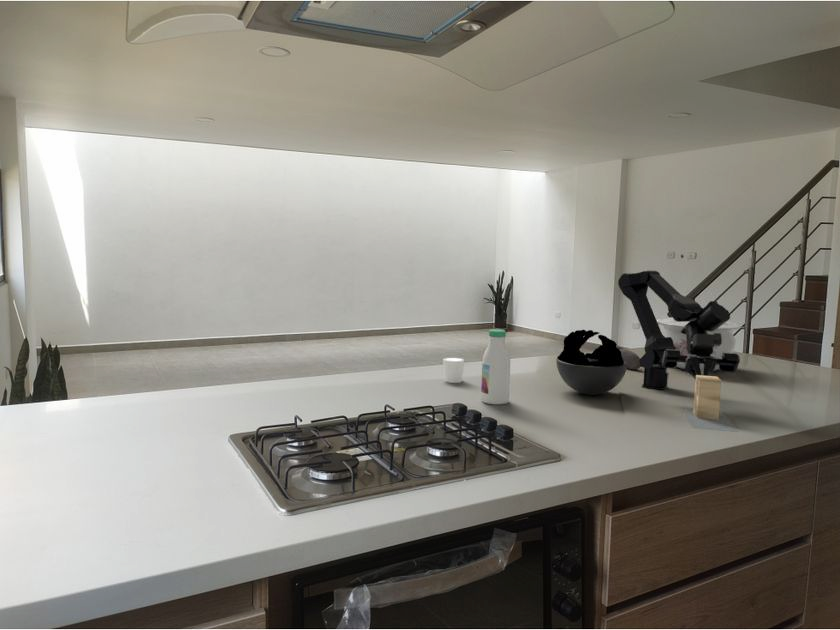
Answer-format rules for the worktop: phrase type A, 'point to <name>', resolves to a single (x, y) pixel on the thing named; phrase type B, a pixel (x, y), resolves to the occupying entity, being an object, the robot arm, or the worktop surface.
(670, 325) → the chamber pot
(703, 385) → the letter block
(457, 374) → the white cup
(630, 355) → the perforated stone tool
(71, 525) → the worktop surface
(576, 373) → the coal bowl
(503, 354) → the milk bottle
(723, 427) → the slate mat
